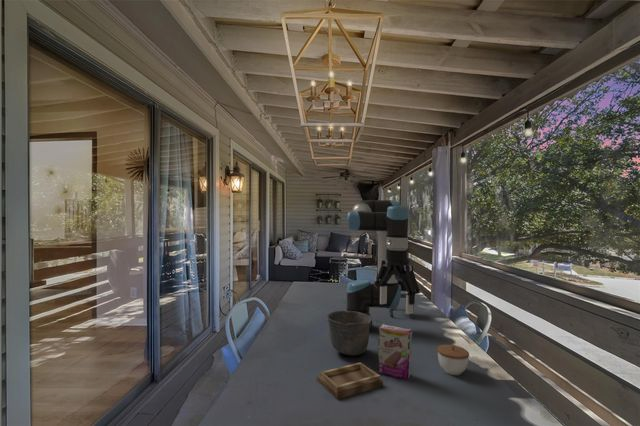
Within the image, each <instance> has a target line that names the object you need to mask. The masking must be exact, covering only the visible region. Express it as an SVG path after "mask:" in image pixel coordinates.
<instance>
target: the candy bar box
mask: <svg viewBox="0 0 640 426" xmlns="http://www.w3.org/2000/svg"><path fill="white" fill-rule="evenodd" d="M412 342H413V329H411V328H405V327H399V326H393V325H388V324H383V323H381V325H380V326H379V327H378V345H377V346H378V347H377V350H378V352H377V374H382V375H386V376H391V377H396V378H399V379H402V380H409V378H410V376H411V375H412V374H411V373H412V346H413V345H412V344H413V343H412Z"/></svg>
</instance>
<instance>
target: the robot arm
mask: <svg viewBox="0 0 640 426" xmlns="http://www.w3.org/2000/svg"><path fill="white" fill-rule="evenodd" d="M409 217H410V215H409V208H408V207H407V206H402V205H401V203H400V202H399V201H398V200H391V199H389V200H388V199H387V200H385V199H384V200H383V199H380V200H379V199H378V200H377V199H375V200H374V199H368V200H363V201H360V202H357V204H355V205H354V206H353V207H352V209H351V211H349V212H347V221H346V222H347V229H348V231H356V232H358V231H365V232H367V231H372V232H378V235H377V236H378V237H377V238H378V239H377V240H378V243H377V247H378V248H377V277H376V278H375V279H374V282H373V283H371V281H370V280H369V279H356V280H352V281H350V282H348V283H347V285H346V310H345V311H346V312H347V311H356V312H360V313H363V314H366V315H368V316H370V317H371V318H372V316H371V314H370V308H379V309H382V308H383V309H387V310H390V308H398V306H400V301H401V298H400V297H401V294H402V291H401V286H400V285H398V281H399V280H398V281H397V279H396V277H398V278H399V279H400V281H402V283H403V285H404V287H405V289H406V291H405V292H407V293H406V294H407V295H406V298H405V309H406V311H405V315H411V314H413V304H414V305H415V302H416V301H415V299H416V295H418V294H421V290H420V287H419V285H418V281H417V278H416V276H415V273H414V265H413V264H407V263H406V262H407V261H408V260H409V259H408V255H409V252H408V249H409ZM410 290H411V291H410ZM373 325H374V323H373V319H372V320H371V323H370V329H369V332H370V331H372V330H373V329H374V328H373Z"/></svg>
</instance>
